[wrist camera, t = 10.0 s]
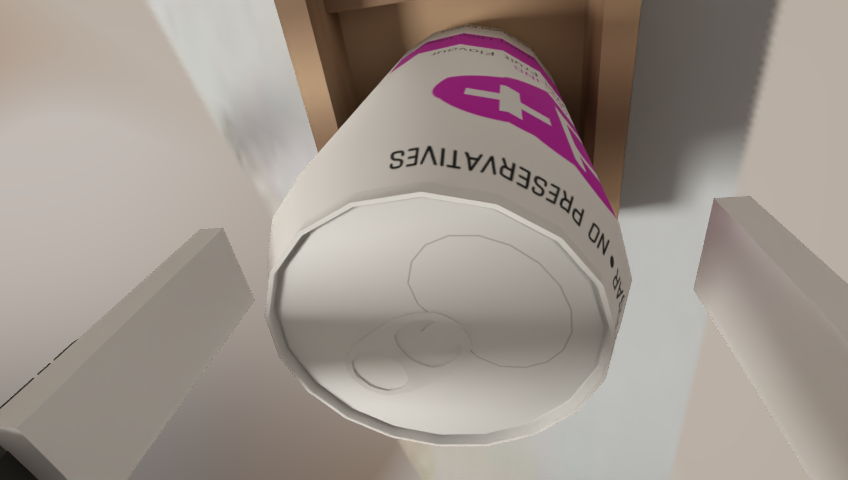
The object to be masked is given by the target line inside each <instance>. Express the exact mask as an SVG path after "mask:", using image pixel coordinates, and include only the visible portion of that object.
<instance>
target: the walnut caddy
mask: <svg viewBox="0 0 848 480" xmlns="http://www.w3.org/2000/svg"><path fill="white" fill-rule="evenodd" d="M274 2H275V5H276V9H277V12H278V16H279V19H280V23H281V26H282V29H283V33H284V36H285V40H286V43H287V47H288V50H289V54H290V57H291V61H292V64H293V67H294V71H295V74H296V78H297V81H298V85H299V88H300V92H301V95H302V98H303V102H304V105H305V109H306V112H307V116H308V119H309V123H310V126H311V130H312V133H313V136H314V140H315V143H316V147H317V150H318V153H319V151H320V150H321V149H322V148H323V147H324V146H325V145H326V143H327V142H328V141H329V140H330V139H331V138H332V137H333V135H334V134H335V133H336V132H337V131H338V130H339V129H340V128H341V126H342V125H343V124H344V123H345V122H346V121H347V120H348V118H349V117H350V116H351V115H352V114H353V113H354V112H355V110H356V109H357V108H358V107H359V106H360V105H361V104H362V102H363V101H364V100H365V99H366V98H367V97H368V96H369V95H370V93H371V92H372V91H373V90H374V89H375V88H376V87H377V85H378V84H379V83H380V82H381V81H382V80H383V79H384V77H385V76H386V75H387V74H388V73H389V72H390V71H391V69H392V68H393V67H394V66H395V65H396V64H397V63H398V61H399V60H400V59H401V58H402V57H403V56H404V55H405V54H406V52H407V51H409V50H410V49H411V48H413V47H414V46H416V45H417V44H419V43H420V42H421V41H423V40H424V39H426V38H427V37H429V36H430V35H431V34H433V33H434V32H438V31H442V30H446V29H450V28H454V27H458V26H463V25H467V24H469V25H476V26H482V27H489V28H496V29H502V30H503V31H505V32H507V33H508V34H510V35H512V36H513V37H515V38H517V39H518V40H520V41H522V42H524V43H525V44H527V45H529V46H530V47H531V48H532V50H533V51H534V52H535V54H536V55H537V56H538V58H539V59H540V60H541V61H542V63H543V64H544V65H545V67H546V68H547V69H548V71H549V72H550V74H551V76H552V78H553V80H554V83H555V85H556V87H557V89H558V91H559V94H560V96H561V98H562V100H563V102H564V104H565V107H566V109H567V111H568V113H569V115H570V118H571V120H572V122H573V124H574V126H575V128H576V131H577V133H578V135H579V137H580V139H581V142H582V144H583V146H584V148H585V150H586V152H587V155H588V157H589V159H590V161H591V163H592V166H593V168H594V170H595V172H596V174H597V177H598V179H599V181H600V183H601V185H602V187H603V190H604V192H605V194H606V196H607V198H608V201H609V203H610V205H611V207H612V209H613V211H614V214H615V216H616V218H617V220H618V214H619V204H620V195H621V186H622V177H623V168H624V158H625V149H626V140H627V131H628V121H629V112H630V103H631V94H632V85H633V75H634V66H635V57H636V48H637V39H638V29H639V20H640V11H641V2H642V0H274Z"/></svg>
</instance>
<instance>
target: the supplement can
mask: <svg viewBox="0 0 848 480" xmlns="http://www.w3.org/2000/svg"><path fill="white" fill-rule="evenodd" d="M267 267H268V278H269V284H268V293H267V302H266V310H265V318H266V321H267V324H268V326H269V329H270V332H271V335H272V338H273V341H274V343H275V347H276V349H277V352H278V355H279V357H280V359H281V360H282V361H283V362H284V363H285V365H286V366H287V367H288V368H289V369H290V371H292V373H293V374H294V376H295V377H296V378H297V379H298V380H299V382H300V383H301V384H302V385H303V387H304V388H305V389H306V390H307V391H308V392H309V393H311V394H312V395H313V396H315V397H316V398H317V399H319V400H320V401H322V402H323V403H325V404H326V405H327V406H329V407H330V408H332V409H333V410H334V411H336V412H337V413H339V414H340V415H341V416H343V417H344V418H346V419H348V420H351V421H353V422H355V423H358V424H360V425H363V426H365V427H367V428H370V429H372V430H375V431H377V432H380V433H382V434H384V435H387V436H389V437H393V438H397V439H403V440H408V441H413V442H418V443H423V444H428V445H433V446H439V447H449V446H491V445H495V444H500V443H504V442H508V441H512V440H517V439H521V438H525V437H529V436H534V435H536V434H538V433H540V432H542V431H544V430H546V429H547V428H549V427H551V426H553V425H555V424H557V423H558V422H560V421H562V420H564V419H566V418H567V417H569V416H571V415H573V414H575V413H576V412H577V411H578V410H579V409H580V408H581V407H582V405H583V404H584V403H585V402H586V401H587V400H588V399H589V397H590V396H591V395H592V394H593V393H594V392H595V390H596V389H597V388H598V387H599V386H600V385H601V384H602V382H603V381H604V380H605V379H606V375H607V372H608V368H609V364H610V360H611V356H612V352H613V348H614V344H615V340H616V336H617V333H618V331H619V328H620V324H621V321H622V317H623V313H624V309H625V305H626V301H627V297H628V293H629V289H630V285H631V282H632V277H631V273H630V269H629V264H628V260H627V256H626V251H625V247H624V243H623V238H622V234H621V230H620V225H619V222H618V220H617V218H616V216H615V214H614V211H613V209H612V207H611V205H610V203H609V201H608V198H607V196H606V194H605V192H604V190H603V187H602V185H601V183H600V181H599V179H598V177H597V174H596V172H595V170H594V168H593V166H592V163H591V161H590V159H589V157H588V155H587V152H586V150H585V148H584V146H583V144H582V142H581V139H580V137H579V135H578V133H577V131H576V128H575V126H574V124H573V122H572V120H571V118H570V115H569V113H568V111H567V109H566V107H565V104H564V102H563V100H562V98H561V96H560V94H559V91H558V89H557V87H556V85H555V83H554V80H553V78H552V76H551V74H550V72H549V71H548V69H547V68H546V67H545V65H544V64H543V63H542V61H541V60H540V59H539V58H538V56H537V55H536V54H535V52H534V51H533V50H532V48H531V47H530V46H529V45H527V44H525V43H524V42H522V41H520V40H518V39H517V38H515V37H513V36H512V35H510V34H508V33H507V32H505V31H503V30H502V29H496V28H489V27H482V26H476V25H469V24H467V25H463V26H458V27H454V28H450V29H446V30H442V31H438V32H434V33H433V34H431V35H430V36H429V37H427V38H426V39H424V40H423V41H421V42H420V43H419V44H417V45H416V46H414V47H413V48H411V49H410V50H409V51H407V52H406V54H405V55H404V56H403V57H402V58H401V59H400V60H399V61H398V63H397V64H396V65H395V66H394V67H393V68H392V69H391V71H390V72H389V73H388V74H387V75H386V76H385V77H384V79H383V80H382V81H381V82H380V83H379V84H378V85H377V87H376V88H375V89H374V90H373V91H372V92H371V93H370V95H369V96H368V97H367V98H366V99H365V100H364V101H363V102H362V104H361V105H360V106H359V107H358V108H357V109H356V110H355V112H354V113H353V114H352V115H351V116H350V117H349V118H348V120H347V121H346V122H345V123H344V124H343V125H342V126H341V128H340V129H339V130H338V131H337V132H336V133H335V134H334V135H333V137H332V138H331V139H330V140H329V141H328V142H327V143H326V145H325V146H324V147H323V148H322V149H321V150H320V151H319V153H318V154H317V155H316V156H315V157H314V158H313V159H312V161H311V162H310V163H309V164H308V165H307V166H306V167H305V168H304V170H303V171H302V172H301V174H300V175H299V177H298V179H297V180H296V182H295V183H294V185H293V186H292V188H291V190H290V191H289V193H288V194H287V196H286V197H285V199H284V201H283V202H282V204H281V205H280V207H279V209H278V210H277V212H276V213H275V215H274V216H273V219H272V230H271V238H270V247H269V257H268V266H267Z"/></svg>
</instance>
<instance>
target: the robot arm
mask: <svg viewBox="0 0 848 480" xmlns="http://www.w3.org/2000/svg"><path fill="white" fill-rule="evenodd" d="M694 291H695V292H696V294H697V296H698V297H699V299H700V301H701V302H702V304H703V305H704V307H705V309H706V310H707V312H708V314H709V315H710V317H711V318H712V320H713V321H714V323H715V325H716V327H717V328H718V330H719V331H720V333H721V335H722V336H723V337H724V339H725V341H726V343H727V344H728V346H729V348H730V349H731V351H732V352H733V354H734V356H735V357H736V359H737V361H738V362H739V364H740V365H741V367H742V369H743V370H744V372H745V374H746V375H747V377H748V378H749V380H750V382H751V383H752V385H753V387H754V388H755V390H756V391H757V393H758V395H759V396H760V398H761V400H762V401H763V403H764V404H765V406H766V407H767V409H768V411H769V413H770V414H771V416H772V417H773V419H774V421H775V422H776V424H777V425H778V427H779V429H780V430H781V432H782V434H783V435H784V437H785V438H786V440H787V442H788V443H789V445H790V447H791V448H792V450H793V451H794V453H795V455H796V456H797V458H798V460H799V461H800V463H801V464H802V466H803V468H804V469H805V471H806V473H807V474H808V476H809V477H810V479H811V480H848V284H847V283H846V282H845V281H844V280H843V279H841V278H840V277H839V276H838V275H837V274H836V273H835V272H834V271H832V269H830V268H829V267H828V266H827V265H826V264H825V263H824V262H823V261H822V260H820V259H819V258H818V257H817V256H816V255H815V254H814V253H813V252H811V251H810V250H809V249H808V248H807V247H806V246H805V245H804V244H803V243H802V242H800V241H799V240H798V239H797V238H796V237H795V236H794V235H793V234H792V233H790V232H789V231H788V230H787V229H786V228H785V227H784V226H783V225H782V224H780V223H779V222H778V221H777V220H776V219H775V218H774V217H773V216H772V215H770V214H769V213H768V212H767V211H766V210H765V209H764V208H763V207H762V206H760V205H759V204H758V203H757V202H756V201H755V200H754V199H753V198H752V197H750V196H744V197H727V198H714V201H713V205H712V210H711V214H710V219H709V223H708V227H707V232H706V236H705V241H704V245H703V250H702V254H701V258H700V263H699V267H698V272H697V276H696V281H695V285H694ZM254 301H255V300H254V297H253V295H252V293H251V290H250V288H249V286H248V284H247V281H246V279H245V277H244V274H243V272H242V270H241V268H240V265H239V263H238V261H237V259H236V257H235V254H234V252H233V249H232V247H231V245H230V243H229V240H228V238H227V236H226V233H225V231H224V229H223V228H214V229H200V230H199V231H198V232H197V233H196V234H194V235H193V236H192V237H191V238H190V239H189V240H188V241H187V242H186V243H184V244H183V245H182V246H181V247H180V248H179V249H178V250H177V251H176V252H175V253H173V254H172V255H171V256H170V257H169V258H168V259H167V260H166V261H165V262H163V263H162V264H161V265H160V266H159V267H158V268H157V269H156V270H155V271H153V272H152V273H151V274H150V275H149V276H148V277H147V278H146V279H144V281H142V282H141V283H140V284H139V285H138V286H137V287H136V288H135V289H133V290H132V291H131V292H130V293H129V294H128V295H127V296H126V297H125V298H123V299H122V300H121V301H120V302H119V303H118V304H117V305H116V306H114V307H113V308H112V309H111V310H110V311H109V312H108V313H107V314H106V315H104V316H103V317H102V318H101V319H100V320H99V321H98V322H97V323H96V324H94V325H93V326H92V327H91V328H90V329H89V330H88V331H87V332H86V333H84V334H83V335H82V336H81V337H80V338H79V339H77V340H76V341H74V342H73V343H71V344H70V345H69V346H68V347H67V348H66V349H65V350H64V351H63V352H61V353H60V354H59V355H58V356H57V357H56V358H55V359H54V361H53V362H52V363H49V364H48V365H47V366H46V367H45V368H44V369H42V370H41V371H40V372H39V373H38V374H37V375H38V376H37V377H35V378H32V379H31V380H30V381H29V382H28V383H27V384H26V385H25V386H24V387H22V388H21V389H20V390H19V391H18V392H17V393H16V394H15V395H14V396H12V397H11V398H10V399H9V400H8V401H7V402H6V403H4V404H3V405H2V406H1V407H0V480H127V479H128V477H129V476H130V474H131V473H132V472H133V470H134V469H135V467H136V466H137V465H138V463H139V462H140V460H141V459H142V457H143V456H144V455H145V453H146V452H147V451H148V449H149V448H150V446H151V445H152V444H153V442H154V441H155V439H156V438H157V437H158V435H159V434H160V432H161V431H162V429H163V428H164V427H165V425H166V424H167V423H168V421H169V420H170V418H171V417H172V416H173V414H174V413H175V411H176V410H177V409H178V407H179V406H180V404H181V403H182V401H183V400H184V399H185V397H186V396H187V395H188V393H189V391H190V390H191V389H192V388H193V386H194V385H195V383H196V382H197V381H198V379H199V378H200V376H201V375H202V374H203V372H204V371H205V369H206V368H207V366H208V365H209V364H210V362H211V361H212V360H213V358H214V357H215V355H216V354H217V353H218V351H219V350H220V348H221V347H222V345H223V344H224V343H225V341H226V340H227V338H228V337H229V336H230V334H231V333H232V331H233V330H234V329H235V327H236V326H237V325H238V323H239V322H240V320H241V319H242V317H243V316H244V314H245V313H246V312H247V310H248V309H249V308H250V306H251V305H252V304H253V302H254Z"/></svg>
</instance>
